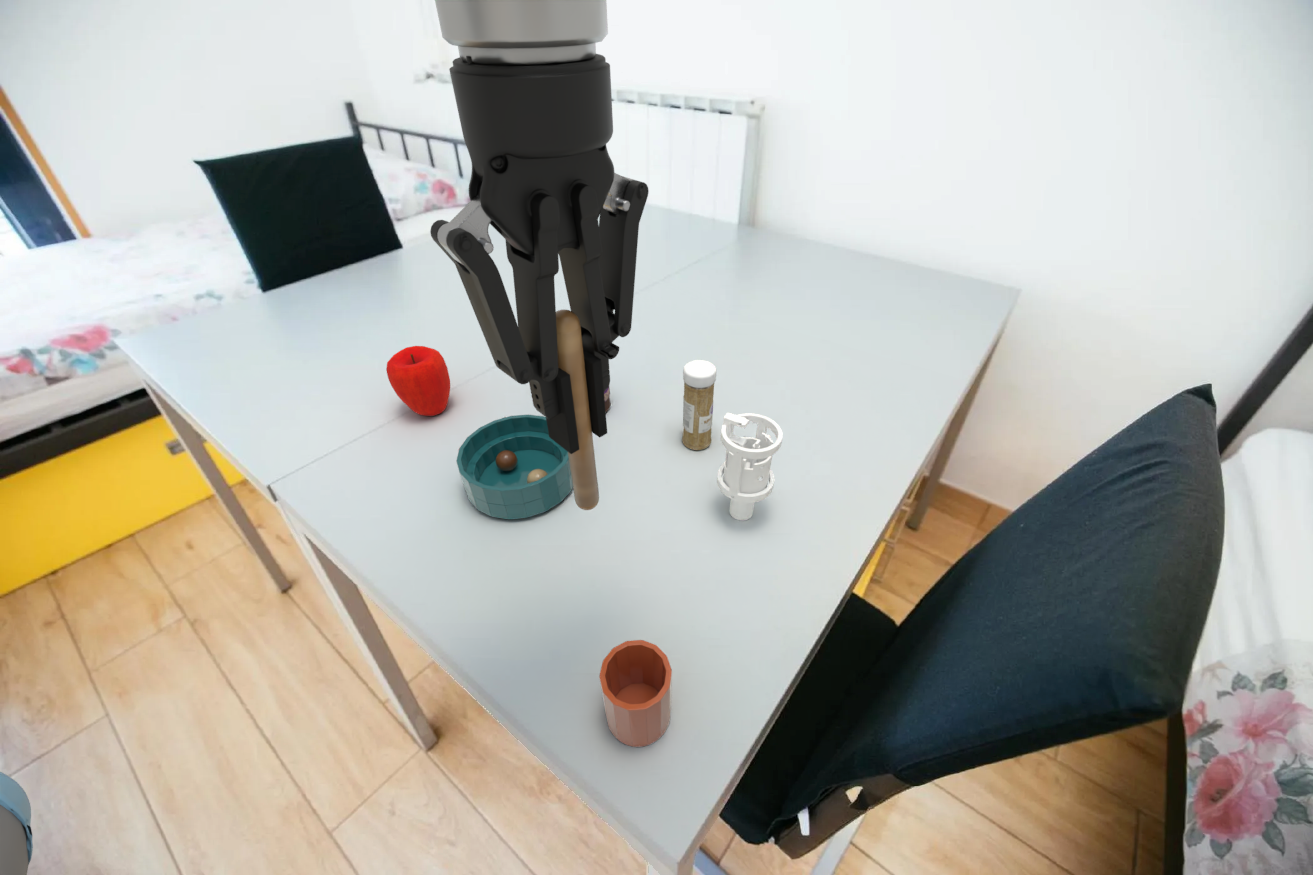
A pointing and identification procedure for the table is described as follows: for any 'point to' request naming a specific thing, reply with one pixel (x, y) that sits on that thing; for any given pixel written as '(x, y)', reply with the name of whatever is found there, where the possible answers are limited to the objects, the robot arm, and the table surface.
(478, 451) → the bowl
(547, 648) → the table surface
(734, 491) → the white cylindrical cage
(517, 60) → the robot arm
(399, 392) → the apple
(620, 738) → the utensil pot
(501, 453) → the bead
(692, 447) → the sprinkles bottle
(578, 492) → the stick
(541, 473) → the bead
